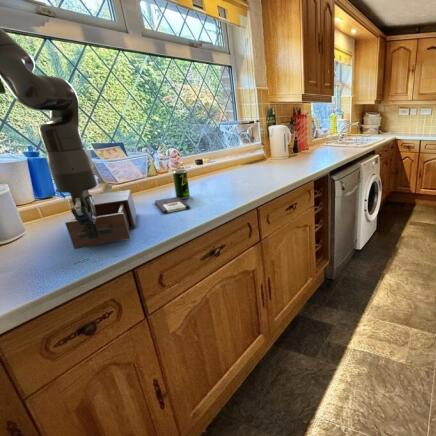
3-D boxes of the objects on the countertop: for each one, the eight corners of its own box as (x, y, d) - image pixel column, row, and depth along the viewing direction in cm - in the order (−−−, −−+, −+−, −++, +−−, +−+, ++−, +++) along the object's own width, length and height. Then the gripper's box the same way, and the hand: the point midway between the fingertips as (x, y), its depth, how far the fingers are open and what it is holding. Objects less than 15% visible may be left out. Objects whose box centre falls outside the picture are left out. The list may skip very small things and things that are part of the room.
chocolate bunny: (98, 208, 120) (91, 183, 117) (118, 203, 127) (111, 179, 123) (106, 209, 118) (99, 185, 114) (126, 204, 124) (120, 180, 121)
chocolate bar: (178, 196, 129) (189, 205, 115) (178, 198, 129) (189, 208, 116) (155, 200, 124) (163, 211, 110) (155, 202, 124) (163, 213, 111)
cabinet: (135, 228, 97) (127, 199, 94) (81, 238, 91) (71, 207, 88) (136, 215, 110) (130, 189, 107) (89, 222, 104) (81, 196, 101)
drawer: (129, 244, 83) (121, 218, 80) (70, 256, 77) (60, 228, 74) (132, 223, 99) (126, 201, 96) (84, 232, 93) (76, 208, 90)
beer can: (173, 198, 128) (169, 170, 125) (182, 195, 134) (178, 168, 130) (184, 199, 127) (180, 171, 124) (192, 196, 132) (189, 169, 129)
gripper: (86, 171, 66) (109, 243, 72) (95, 163, 77) (114, 226, 83) (42, 176, 63) (70, 251, 69) (58, 167, 74) (81, 232, 80)
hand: (94, 237), depth 76 cm, fingers closed
